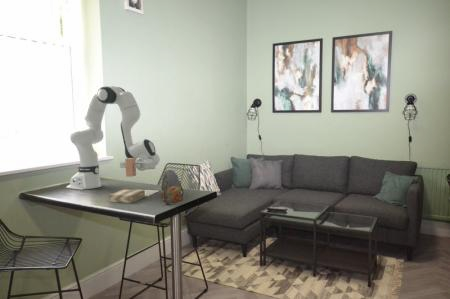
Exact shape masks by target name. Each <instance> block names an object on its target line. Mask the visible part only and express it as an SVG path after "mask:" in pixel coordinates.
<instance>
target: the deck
mask: <svg viewBox="0 0 450 299" xmlns="http://www.w3.org/2000/svg"><path fill="white" fill-rule="evenodd" d="M145 190H146V189H121V190H118V191H115V192H112V193H110V194H108V199H109V200H108V201H109V203H125V204H134V203H135V202H137V201H140V200H142V199H143V198H144V199H145V197H146V196H145Z"/></svg>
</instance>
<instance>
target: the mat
mask: <svg viewBox="0 0 450 299" xmlns="http://www.w3.org/2000/svg"><path fill="white" fill-rule="evenodd" d="M144 190H145V197H151V196H153V195H154V194H157V193H160V190H156V189H155V190H153V189H144Z"/></svg>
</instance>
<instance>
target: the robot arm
mask: <svg viewBox="0 0 450 299" xmlns="http://www.w3.org/2000/svg"><path fill="white" fill-rule="evenodd" d="M107 105H117V106H118V107H119V110H120V113H121V122H120V131H121V135H122V140H123V145H124V154H125V157H126V159H127V158H135V162H136V165H133V168H136V170H138V171H141V172H142V171H143V172H144V171H148V170H155V169H156V167H157V165H159V163H160V155H159V154H158V153H156V147H155V145H154V143H153V142H152V141H151V140H149V139H147V138H146V139H145V138H144V139H142V140H141V141H138V142H136V143H134V142H133V138H132V137H133V136H132V132H131V131H132V128H133V127H134V125H135V124H137V122H139V120H140V118H141V110H140V107H139V105H138V102H137V100H136V98H135V97H134V95H133V93H132V92H130V91H126V90H125V89H124V88H122V87H119V86H113V85H111V86H107V85H104V86H100V87H99V88H98V90H97V91H94V92H92V94H91V96H90V97H89V100H88V102H87V105H86V109H85V112H84V115H83V119H84V121H85V127H83V128H76V129H75V130H73V131H71V133H70V137H69V138H70V141H71V143H72V144H73V145H74V146H75V147H76V149H77V151H78V155H79V165H80V166H79V167H76V169H77V171H78V172H76V173H75V174H74V175H73V176H71V178H70V180H69V184H68V185H67V186H65V187H66V189H73V190H81V191H82V190H89V189H90V190H91V189H96V188H97V189H98V188H101V187H102V182H101V177H100V166H99V159H98V158H99V157H98V153H97V152H96V151H95V149H94V147H93V145H96V144H98V143H100V142H102V140H103V139H104V132H103V130H102V122H103V118H104V115H105V112H106V109H107V108H106V107H107ZM119 167H120V168H121V169H126V163H125V160H121V161H120V162H119Z"/></svg>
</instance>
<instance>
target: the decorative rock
mask: <svg viewBox="0 0 450 299" xmlns="http://www.w3.org/2000/svg"><path fill="white" fill-rule="evenodd" d="M174 186H181V187H182V188H183V186H182V183H181V180H180V179H179V176H178V174H177V173H176V172H175V171H174V170H172V169H169V170H167V171H165V172H164V174H163V176H162V180H161V187H160V188H161V190H162V191H163V192H164V190H165V189H167V188H170V187H174Z"/></svg>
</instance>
